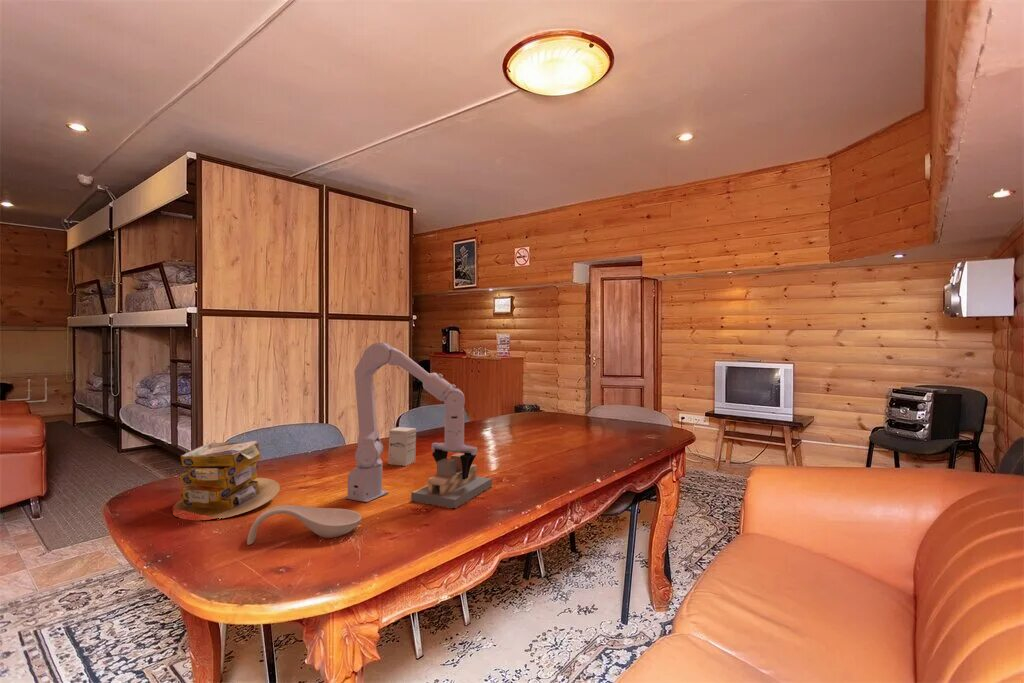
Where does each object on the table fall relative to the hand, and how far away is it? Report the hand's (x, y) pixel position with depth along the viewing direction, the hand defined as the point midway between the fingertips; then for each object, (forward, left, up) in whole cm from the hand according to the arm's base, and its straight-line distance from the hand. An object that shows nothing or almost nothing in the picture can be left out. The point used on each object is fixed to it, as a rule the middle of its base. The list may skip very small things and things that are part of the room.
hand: (453, 476), depth 139 cm
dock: (0, 0, -5) cm, 5 cm away
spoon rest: (-40, +14, -5) cm, 43 cm away
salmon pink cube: (+4, 0, +2) cm, 4 cm away
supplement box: (+22, +35, -5) cm, 42 cm away
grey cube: (-4, 0, +2) cm, 4 cm away
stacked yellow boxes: (-34, +50, -5) cm, 61 cm away
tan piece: (0, 0, -2) cm, 2 cm away
